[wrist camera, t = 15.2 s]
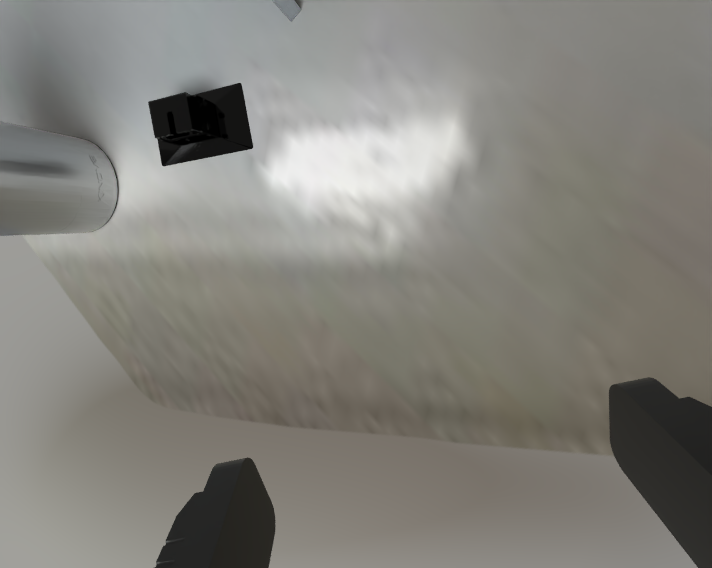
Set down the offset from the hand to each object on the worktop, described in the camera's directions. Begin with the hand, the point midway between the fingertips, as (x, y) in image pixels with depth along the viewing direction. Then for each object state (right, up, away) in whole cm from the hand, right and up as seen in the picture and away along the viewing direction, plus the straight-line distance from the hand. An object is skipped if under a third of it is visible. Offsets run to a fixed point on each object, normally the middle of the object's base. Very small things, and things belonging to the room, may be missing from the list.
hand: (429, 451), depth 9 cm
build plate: (-15, +18, +28) cm, 37 cm away
